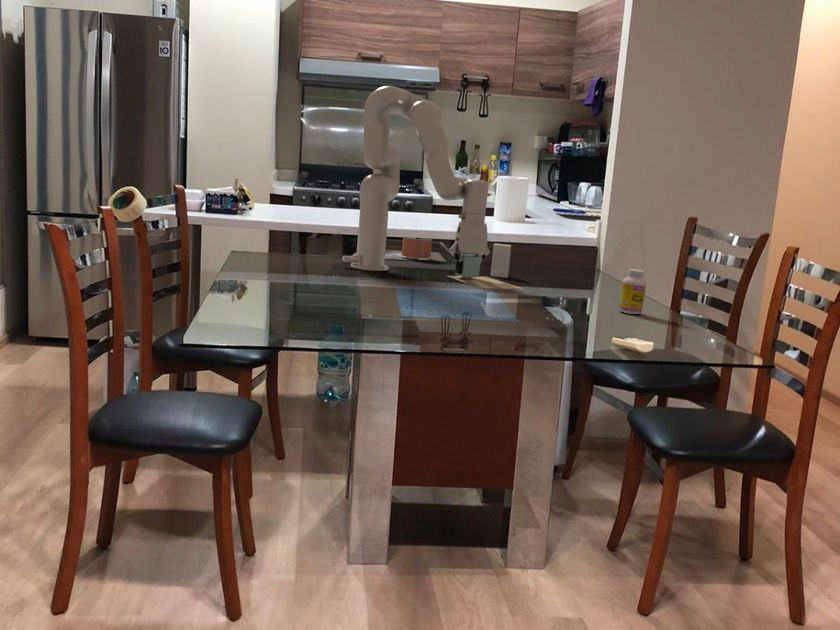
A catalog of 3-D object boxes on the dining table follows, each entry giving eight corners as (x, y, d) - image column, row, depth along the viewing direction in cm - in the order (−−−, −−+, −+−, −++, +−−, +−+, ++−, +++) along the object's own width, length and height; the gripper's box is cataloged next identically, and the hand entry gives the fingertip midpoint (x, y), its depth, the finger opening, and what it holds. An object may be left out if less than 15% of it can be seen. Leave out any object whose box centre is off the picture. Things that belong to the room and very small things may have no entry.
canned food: (412, 255, 344) (415, 224, 342) (436, 259, 338) (439, 228, 336) (395, 256, 335) (398, 225, 333) (419, 261, 329) (422, 229, 327)
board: (480, 292, 271) (480, 288, 271) (445, 279, 290) (445, 275, 290) (523, 292, 278) (523, 288, 278) (486, 280, 297) (487, 276, 297)
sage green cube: (463, 277, 284) (466, 256, 283) (455, 274, 289) (457, 254, 287) (478, 277, 286) (481, 257, 285) (470, 274, 291) (472, 254, 290)
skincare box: (507, 279, 304) (511, 245, 302) (507, 281, 300) (511, 246, 297) (490, 277, 304) (493, 243, 302) (489, 279, 300) (493, 244, 298)
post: (465, 279, 286) (466, 264, 285) (461, 277, 288) (462, 262, 287) (472, 279, 287) (473, 264, 286) (468, 278, 289) (469, 262, 288)
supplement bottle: (628, 315, 255) (635, 271, 253) (613, 310, 261) (619, 268, 258) (646, 315, 258) (652, 272, 256) (631, 310, 264) (637, 268, 262)
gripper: (455, 218, 277) (449, 275, 280) (501, 221, 285) (495, 276, 288) (444, 215, 283) (438, 271, 287) (489, 218, 291) (483, 272, 295)
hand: (467, 273), depth 287 cm, fingers closed on sage green cube, 5 cm apart
